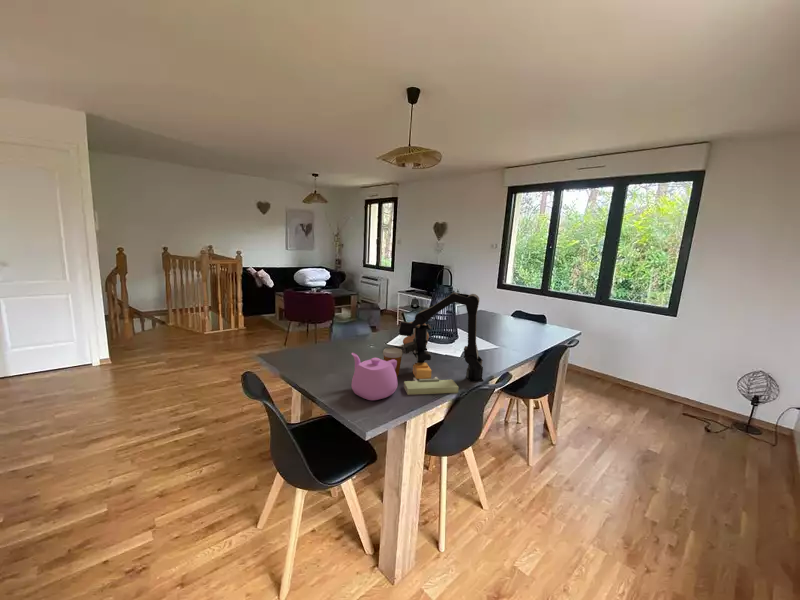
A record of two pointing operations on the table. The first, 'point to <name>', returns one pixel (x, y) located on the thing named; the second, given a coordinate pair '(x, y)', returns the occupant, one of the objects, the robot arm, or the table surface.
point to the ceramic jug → (411, 337)
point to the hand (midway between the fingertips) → (419, 368)
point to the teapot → (374, 378)
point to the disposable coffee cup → (393, 357)
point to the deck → (430, 386)
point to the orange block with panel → (421, 371)
